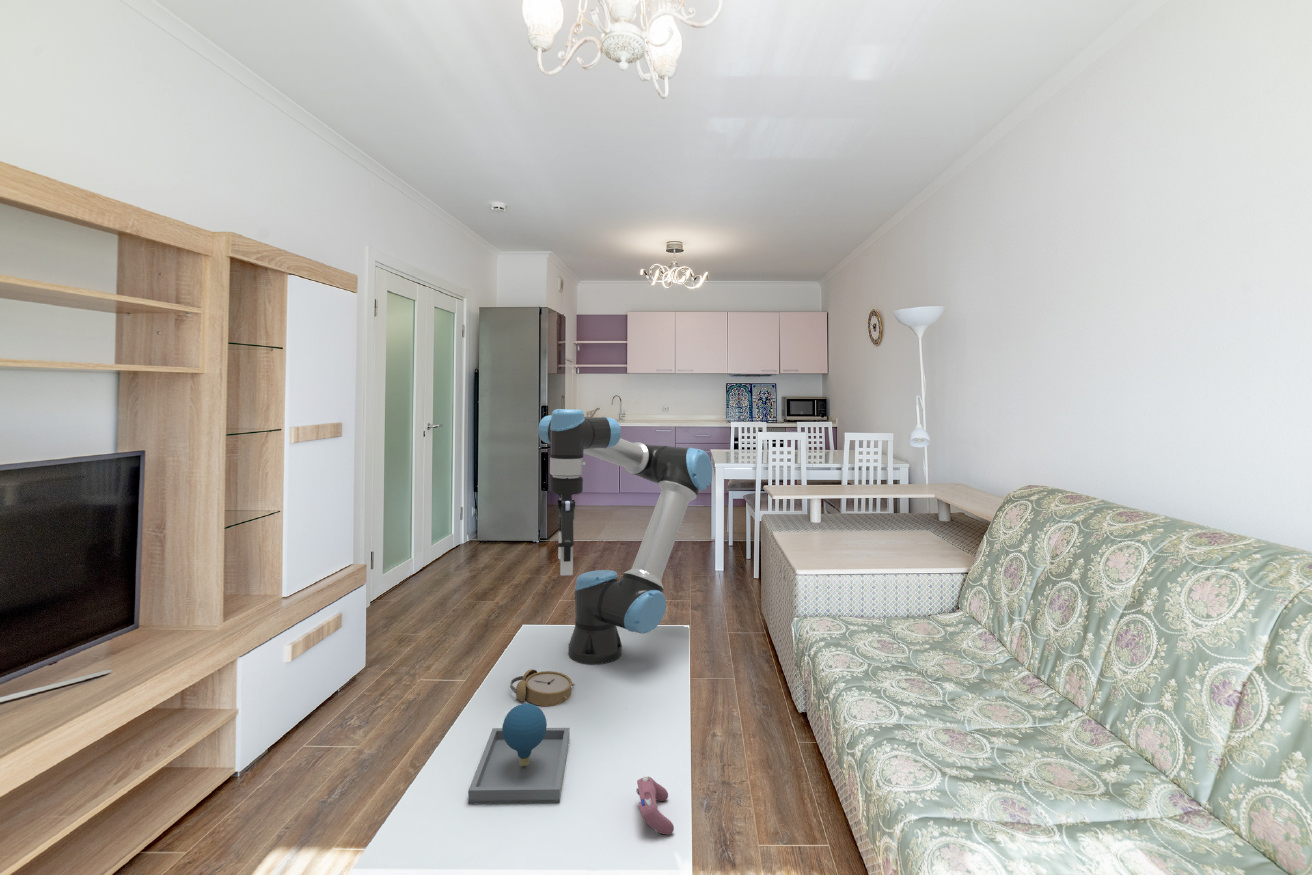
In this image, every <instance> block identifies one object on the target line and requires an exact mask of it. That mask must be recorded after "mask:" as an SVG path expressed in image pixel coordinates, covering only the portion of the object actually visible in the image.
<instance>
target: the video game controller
mask: <svg viewBox="0 0 1312 875" xmlns="http://www.w3.org/2000/svg"><path fill="white" fill-rule="evenodd" d="M636 782H637V788H636V789H635V790H636V794H637V795H638V796H639V799H640V802H638V807H639V810H640V814H641V816H642V819H643V821H644V823H645V824H646V825H648V826H650V827H651V828H652V829H653V830H655V831H656V832H658V833H660V834H662V835H672V834H673V832H674V830H675V828H674V824H673V822H672V821H671V820H670V819H669V818H667V817H666V816H665V815H664V814H662V813H661V811H659V809H658V805H657V801H659V802H664V801H666V800H667V799H668V798H669V793H668V791H667V789H666V788H665V787H664V786H662V785H660V784H659V783H657V781H655V780H654V779H653V778H652V777H651V776H649V775H648V776H644V777H642V778H639V779H637V781H636Z"/></svg>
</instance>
